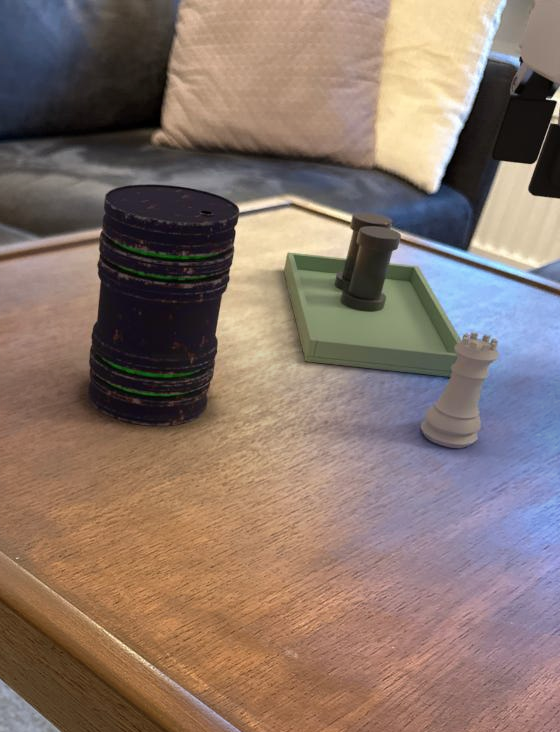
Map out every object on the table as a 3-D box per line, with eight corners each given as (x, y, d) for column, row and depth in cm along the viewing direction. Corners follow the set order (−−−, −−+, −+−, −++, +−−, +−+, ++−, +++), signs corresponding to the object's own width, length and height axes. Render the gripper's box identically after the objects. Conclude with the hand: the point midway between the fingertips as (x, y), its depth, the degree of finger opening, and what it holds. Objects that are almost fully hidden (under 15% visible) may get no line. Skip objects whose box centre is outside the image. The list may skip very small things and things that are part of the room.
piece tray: (413, 284, 107) (418, 266, 106) (464, 378, 87) (471, 357, 86) (283, 270, 107) (287, 252, 106) (305, 361, 88) (310, 339, 86)
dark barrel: (61, 397, 78) (74, 198, 69) (131, 362, 84) (152, 176, 75) (165, 439, 74) (194, 233, 64) (230, 399, 80) (266, 207, 71)
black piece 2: (380, 298, 101) (399, 228, 97) (386, 313, 98) (406, 241, 93) (337, 294, 101) (354, 223, 97) (342, 309, 98) (360, 236, 93)
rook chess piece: (415, 420, 80) (445, 324, 75) (470, 428, 79) (505, 331, 74) (422, 445, 76) (455, 346, 71) (480, 453, 76) (517, 354, 71)
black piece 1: (372, 282, 105) (390, 214, 101) (379, 296, 102) (398, 226, 97) (331, 278, 105) (348, 209, 101) (336, 292, 102) (353, 221, 97)
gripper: (785, -143, 48) (633, 220, 59) (653, -139, 62) (549, 155, 72) (633, -160, 48) (508, 205, 59) (535, -153, 62) (448, 143, 73)
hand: (531, 178), depth 66 cm, fingers open, 9 cm apart
